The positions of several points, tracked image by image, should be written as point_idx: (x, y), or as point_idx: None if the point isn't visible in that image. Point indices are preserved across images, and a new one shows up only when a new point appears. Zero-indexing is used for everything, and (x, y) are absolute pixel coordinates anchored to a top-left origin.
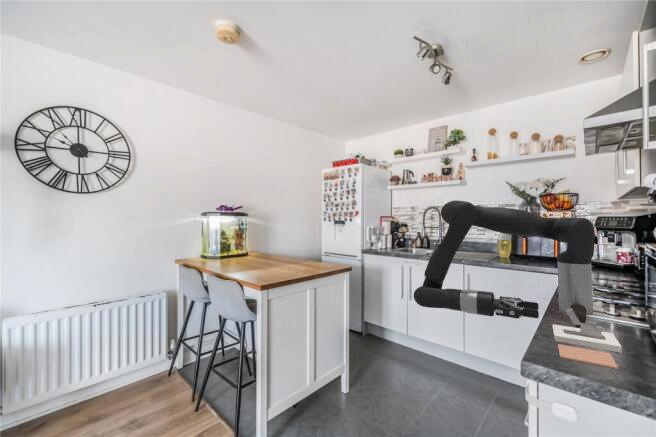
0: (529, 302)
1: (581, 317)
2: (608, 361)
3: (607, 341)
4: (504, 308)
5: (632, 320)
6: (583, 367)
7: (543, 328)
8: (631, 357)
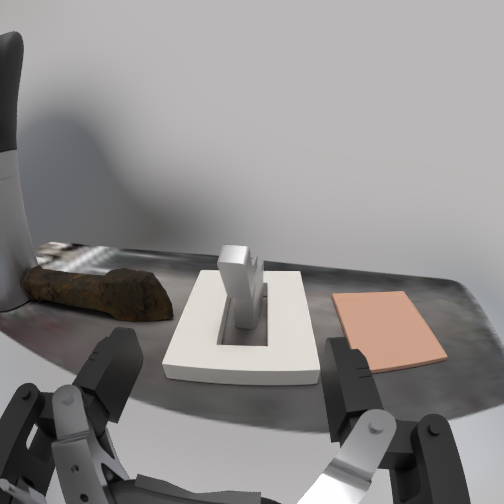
0: (112, 362)
1: (151, 277)
2: (387, 298)
3: (278, 282)
4: (468, 502)
5: (81, 250)
6: (449, 327)
7: (166, 404)
8: (314, 278)
